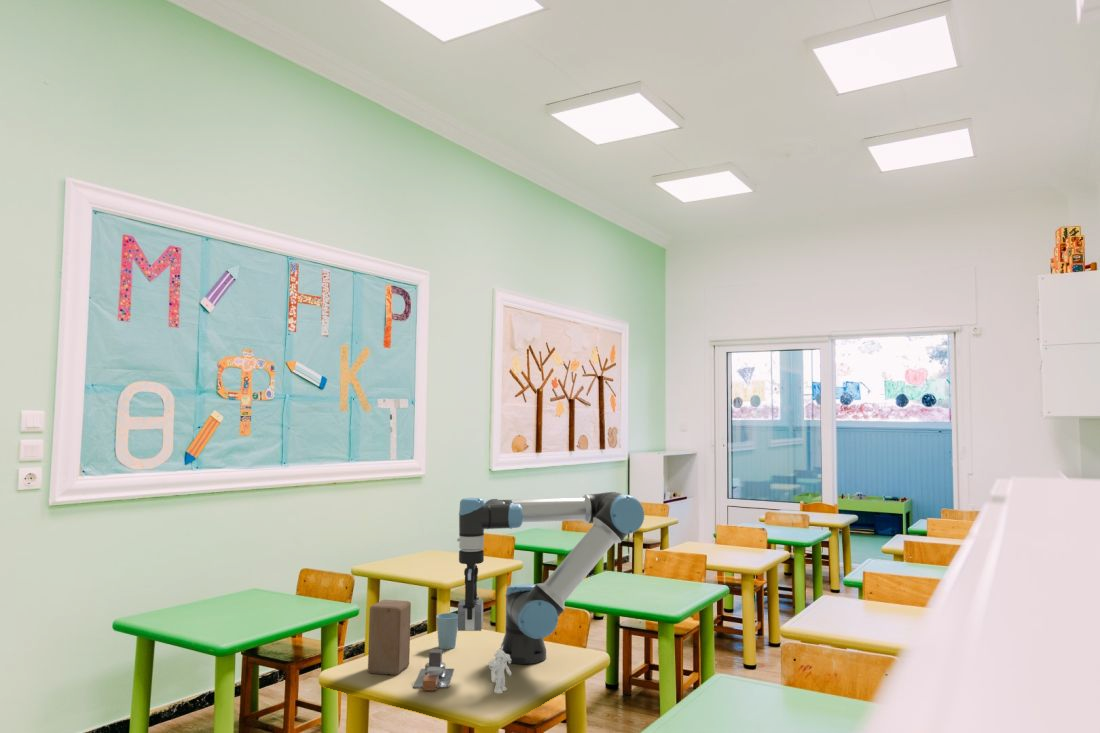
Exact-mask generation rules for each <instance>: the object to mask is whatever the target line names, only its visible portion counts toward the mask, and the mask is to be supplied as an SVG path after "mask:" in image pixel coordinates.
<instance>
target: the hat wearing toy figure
mask: <svg viewBox="0 0 1100 733" xmlns="http://www.w3.org/2000/svg"><path fill="white" fill-rule="evenodd" d="M502 649H503V646H502V647H501V646H500V647H499V649H498V650H496V652H495V653H494V654H493V656H494V659H493V658H492V659H491V660H490V661H489V662H488V668H489V670H490V674H491V681H492V682H493V683H495V686H494V690H493V692H494V693H496V694H503V692H505V691H507V690H508V687H506V686H505V684H506V677H505V673H506V674H507V675H508V676H509V677H511V676H512V671H511V670H510V667H509V666H508V664H509V665H510V664H512V663H511V662H510V661H512V660H511V658H510V654H506V653H504V651H503V650H502ZM507 661H509V662H507ZM505 670H506V671H505Z"/></svg>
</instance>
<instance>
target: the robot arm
mask: <svg viewBox="0 0 1100 733" xmlns="http://www.w3.org/2000/svg"><path fill="white" fill-rule="evenodd" d="M484 500H485V499H484V498H481V497H466V498H465V497H464V498H462V499H461V500H460V501H459V511H458V523H459V524H458V526H459V528H458V529H459V531H458V532H459V533H458V534H459V536H458V538H457V539H456V541H457V542H459V543H458V545H459V546H458V547H459V551H458V562H459V563H460V564H463V565H466V567H465V568H464V570H463V571H464V572H463V575H464V584H465V586H464V588H465V590H464V593H465V594H464V600H465V606H463V608H465V630H474V629H475V607H474V600H480V597H478V592H477V591H478V578H479V577H478V573H479V567H478V566H477V565H478V564H482V563H484V559H485V558H484V556H485V552H484V550H483V549H484V548H485V534H484V533H485V530H490V529H491V530H496V529H510V530H511V529H517V528H521V526H522V525H523V523H537V522H539V523H540V522H541V523H543V522H546V523H547V522H567V521H568V522H571V521H573V522H574V521H576V522H577V521H583V523H585V524H593V525H592V526H591V528H590V529H589V530H588V531H587V532H586V534H584V535H583V537H582V538H580V540H579V542H578V543H577V544H576V545H575V546H574V547H573V548H572V550H571V551H570V552H568V554H567V556H566V557H565V558H564V559H563V560H562V561H561V562H560V564H558V566H557V567H556V568H555V569H554V570H553V572H552V573H551V574H550V575H549V576H548V577H547V579H546V580H545V581H544V582H541V583H536V584H535V583H534V584H532V583H529V584H527V583H525V584H523V583H522V584H521V583H520V584H512V585H508V586H507V587H506V591H505V592H506V593H505V633H504V637H503V639H502V643H501V646H500V648H501V647H502V646H503V649H502V650H503V651H504V653H506V654H510V658H511V660H512V661H510V662H511V663H510V664H516V665H529V664H537V663H540V662H542V661H544V660H546V659H547V648H546V645H545V642H544V638H547V637H549V636H550V635H551V634H552V633H554V631H555V630H556V628H557V626H558V621H559V617H560V616H561V615H562V613H563V612H564V611H565V610H566V609H565V602H566V601H567V599H569V597H570V596H571V595H572V594H573V592H574V591H575V590H577V588H578V586H579V585H580V584H581V583H582V582H583V581H584V580H585V578H586V577H587V576H588V574H590V573H591V571H592V570H593V569H594V568H595V567H596V565H597V564H598V563H599V561H601V559H602V558H603V557H604V556H605V554H606V553H607V552H608V551H609V550H610V548H611V547H612V546H614V544H621V543H622V542H623V541H624V539H625V538H626V537H627V536H628V535H629V534H633V533H635V532H637V531H638V530H639V529H640V528H641V527H642V525H643V523H644V520H645V510H644V507H643V505H642V503H641V501H640V500H638V499H637V498H636V497H634V496H632V495H631V494H626V493H624V494H623V493H620V492H616V491H609V492H608V491H607V492H601V493H599V492H598V493H591V494H588V493H587V494H584V495H583V496H582V497H557V498H556V497H555V498H549V497H548V498H521V499H520V498H518V499H517V498H516V499H513V498H512V499H497V498H491V499H487V500H486V501H484ZM507 663H509V661H507Z"/></svg>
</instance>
